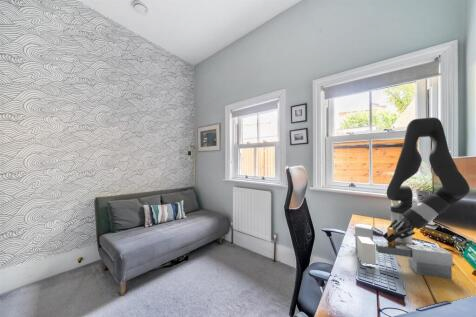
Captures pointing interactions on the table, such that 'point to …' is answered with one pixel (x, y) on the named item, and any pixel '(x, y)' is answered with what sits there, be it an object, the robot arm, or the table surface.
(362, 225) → the supplement box
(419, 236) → the table surface
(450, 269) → the grey sleeve
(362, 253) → the socket block
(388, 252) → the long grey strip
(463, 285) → the table surface
